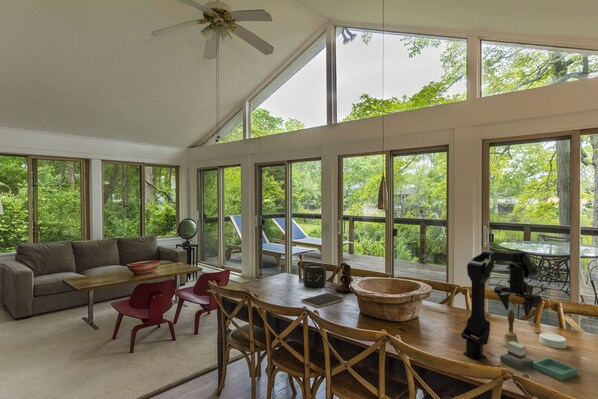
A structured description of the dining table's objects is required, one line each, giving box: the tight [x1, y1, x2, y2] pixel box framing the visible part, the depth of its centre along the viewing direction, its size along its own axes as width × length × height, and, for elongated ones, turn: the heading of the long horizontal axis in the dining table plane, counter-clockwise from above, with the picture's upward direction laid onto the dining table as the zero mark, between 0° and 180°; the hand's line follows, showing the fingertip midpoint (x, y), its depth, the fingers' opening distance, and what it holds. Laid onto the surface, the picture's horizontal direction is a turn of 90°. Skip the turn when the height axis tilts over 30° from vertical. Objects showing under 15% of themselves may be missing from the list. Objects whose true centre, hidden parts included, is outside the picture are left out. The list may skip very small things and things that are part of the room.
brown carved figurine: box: [335, 262, 352, 294], centre depth 241 cm, size 15×15×20 cm
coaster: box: [539, 332, 568, 350], centre depth 152 cm, size 10×10×4 cm
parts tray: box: [532, 357, 578, 382], centre depth 127 cm, size 10×10×2 cm
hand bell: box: [499, 309, 520, 349], centre depth 151 cm, size 8×8×16 cm
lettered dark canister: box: [302, 263, 327, 290], centre depth 255 cm, size 18×18×16 cm
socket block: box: [499, 353, 534, 372], centre depth 134 cm, size 8×8×2 cm
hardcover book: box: [301, 292, 345, 308], centre depth 217 cm, size 16×23×2 cm
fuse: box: [507, 341, 527, 362], centre depth 134 cm, size 3×5×8 cm, turn 24°
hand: (516, 312), depth 152 cm, fingers open, 9 cm apart
